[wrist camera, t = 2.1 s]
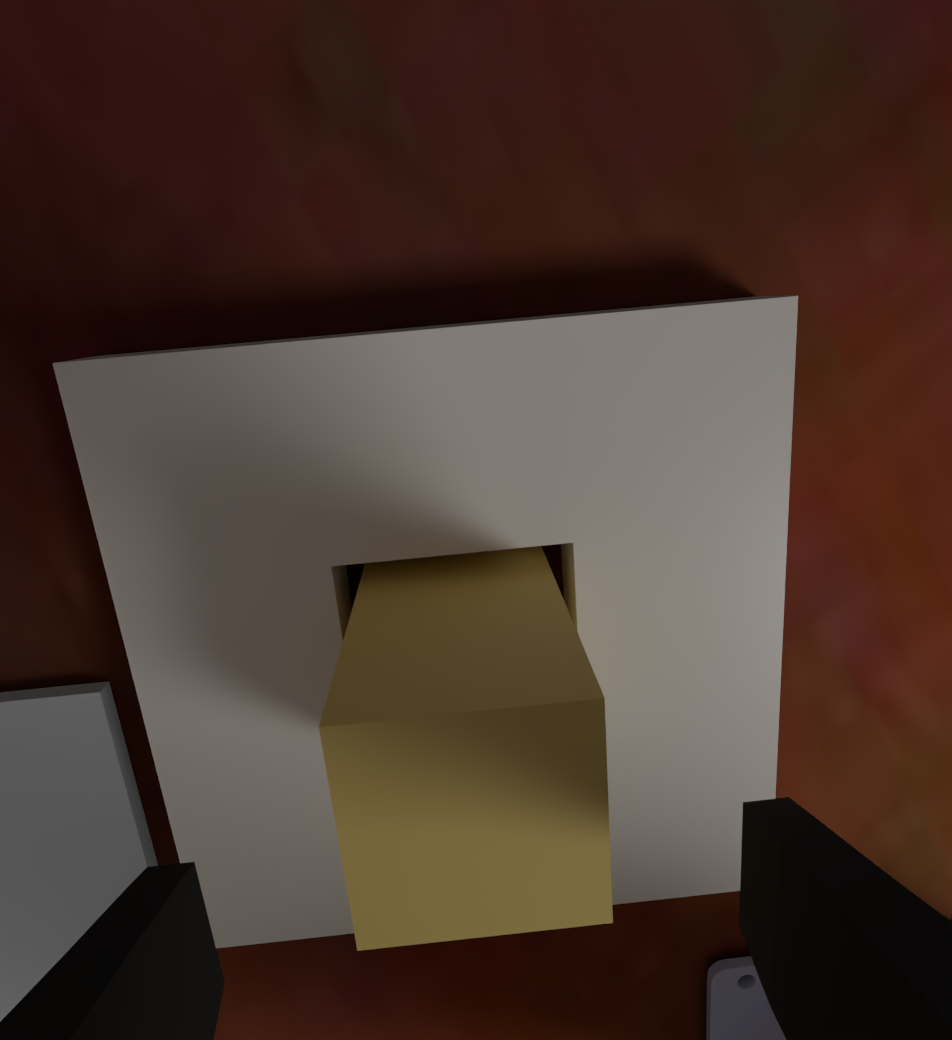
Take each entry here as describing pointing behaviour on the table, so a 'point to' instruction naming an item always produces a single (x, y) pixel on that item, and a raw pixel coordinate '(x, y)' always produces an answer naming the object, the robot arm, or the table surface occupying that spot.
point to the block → (467, 754)
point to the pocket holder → (446, 531)
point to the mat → (62, 825)
